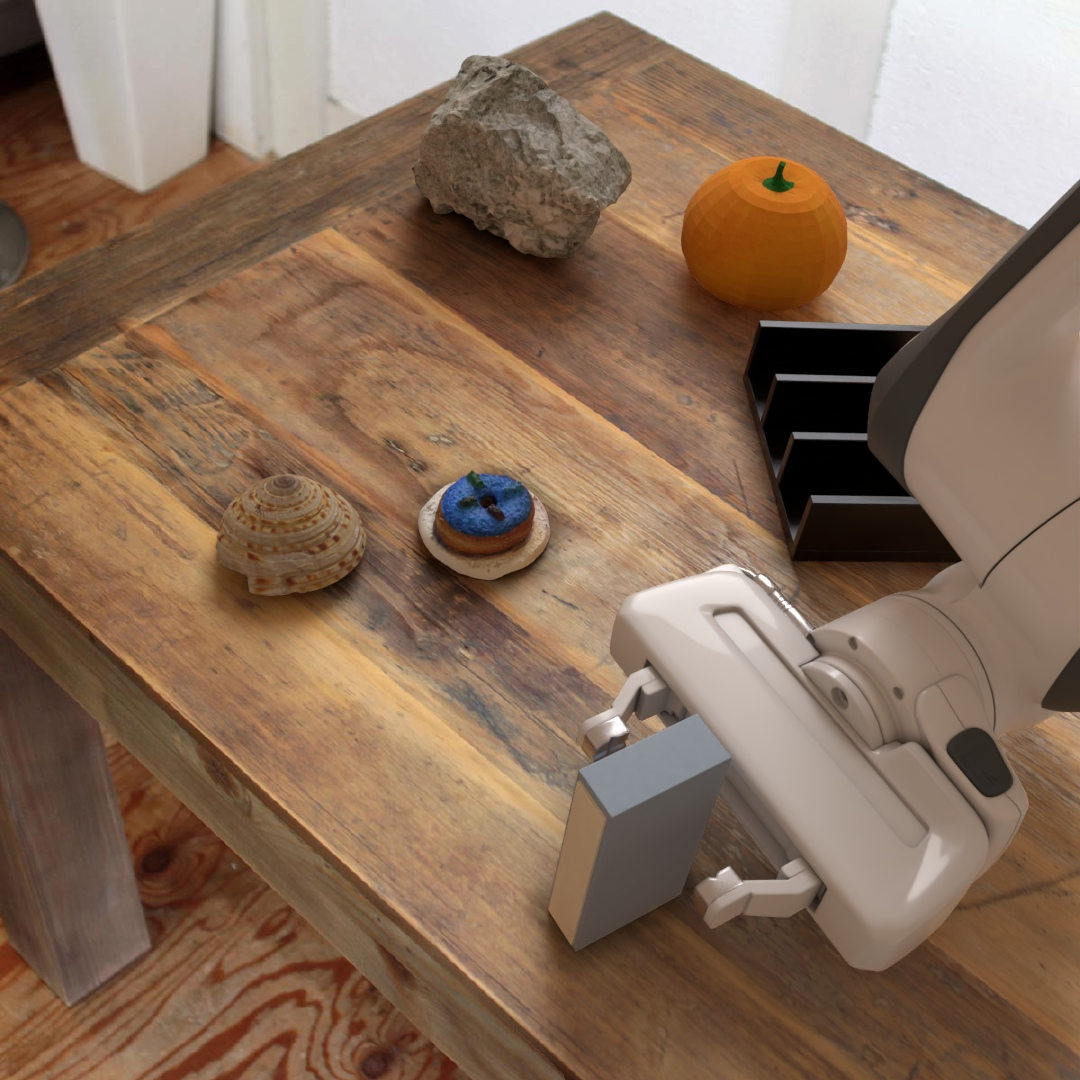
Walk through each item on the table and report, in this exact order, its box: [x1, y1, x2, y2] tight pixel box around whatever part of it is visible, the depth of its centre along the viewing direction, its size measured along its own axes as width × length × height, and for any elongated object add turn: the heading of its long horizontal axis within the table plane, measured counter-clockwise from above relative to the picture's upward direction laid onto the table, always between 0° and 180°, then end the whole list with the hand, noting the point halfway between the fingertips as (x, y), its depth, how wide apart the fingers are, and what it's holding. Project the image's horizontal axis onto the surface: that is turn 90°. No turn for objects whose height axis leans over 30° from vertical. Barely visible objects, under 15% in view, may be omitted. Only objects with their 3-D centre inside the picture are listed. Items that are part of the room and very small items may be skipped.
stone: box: [411, 54, 633, 259], centre depth 96 cm, size 10×12×15 cm
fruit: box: [680, 155, 848, 313], centre depth 94 cm, size 12×12×10 cm
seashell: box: [215, 473, 368, 597], centre depth 75 cm, size 8×6×8 cm
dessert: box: [417, 469, 551, 581], centre depth 78 cm, size 8×7×6 cm
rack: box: [742, 319, 963, 564], centre depth 83 cm, size 12×16×5 cm
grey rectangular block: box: [547, 714, 732, 952], centre depth 59 cm, size 2×6×12 cm, turn 121°
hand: (641, 823), depth 58 cm, fingers open, 8 cm apart
